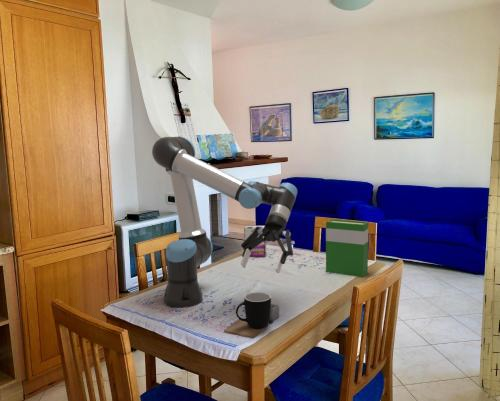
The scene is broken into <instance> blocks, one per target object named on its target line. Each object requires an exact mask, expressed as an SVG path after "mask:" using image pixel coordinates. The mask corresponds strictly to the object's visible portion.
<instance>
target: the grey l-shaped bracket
mask: <svg viewBox="0 0 500 401" xmlns="http://www.w3.org/2000/svg"><path fill="white" fill-rule="evenodd" d="M278 318H280V306H279V304H277V303H271V311H270V319H269V323H268V324H273V322H275V320H277V319H278Z"/></svg>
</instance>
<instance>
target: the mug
mask: <svg viewBox="0 0 500 401" xmlns="http://www.w3.org/2000/svg"><path fill="white" fill-rule="evenodd" d="M243 299H244V300H243V301H242V302H241V303H240V304H238V305H237V307H236V309H235V315H236V317H237V320H238V319H240V320H241V321H245V322H247V323H248V325H249V327H251V328H253V329H263V328H265V327H266V328H267V327H268V326H269V324H270V323H269V319H270V311H271V304H272V296H271V295H270V294H269V293H268V292H263V291H254V292H250V293H249V292H248V293H247V294H245V295H244V298H243ZM242 306H244V311H245V312H244V313H245V318H243V317H241V316H240V315H239V309H240V308H241V307H242ZM267 325H268V326H267ZM266 328H265V329H266Z"/></svg>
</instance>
